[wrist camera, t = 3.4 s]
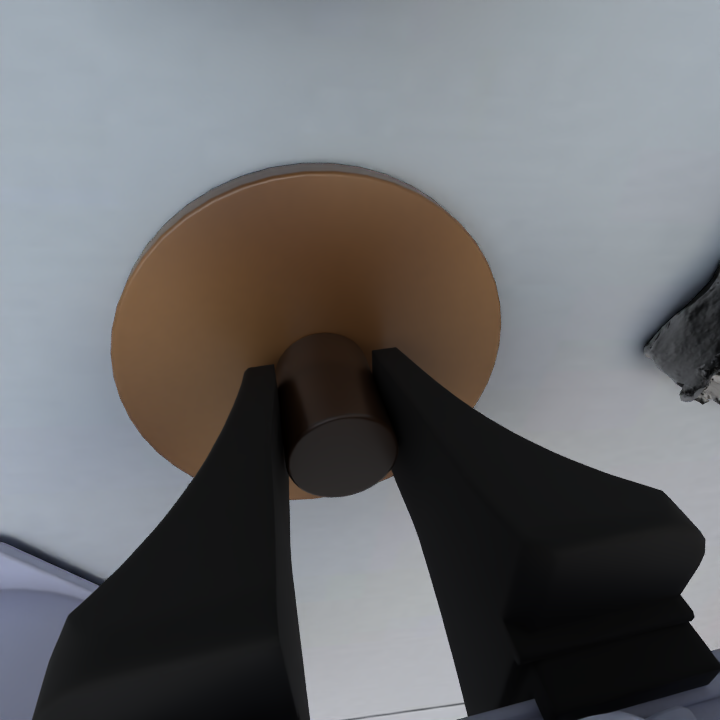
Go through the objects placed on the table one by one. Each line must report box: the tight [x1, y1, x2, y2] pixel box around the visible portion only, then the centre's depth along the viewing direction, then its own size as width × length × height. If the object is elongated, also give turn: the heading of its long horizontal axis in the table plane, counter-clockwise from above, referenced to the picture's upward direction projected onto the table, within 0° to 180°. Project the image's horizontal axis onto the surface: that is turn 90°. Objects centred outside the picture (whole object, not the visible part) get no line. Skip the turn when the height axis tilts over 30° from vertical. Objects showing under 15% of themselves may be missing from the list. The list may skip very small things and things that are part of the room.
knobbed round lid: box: [111, 163, 501, 500], centre depth 12 cm, size 10×10×4 cm
